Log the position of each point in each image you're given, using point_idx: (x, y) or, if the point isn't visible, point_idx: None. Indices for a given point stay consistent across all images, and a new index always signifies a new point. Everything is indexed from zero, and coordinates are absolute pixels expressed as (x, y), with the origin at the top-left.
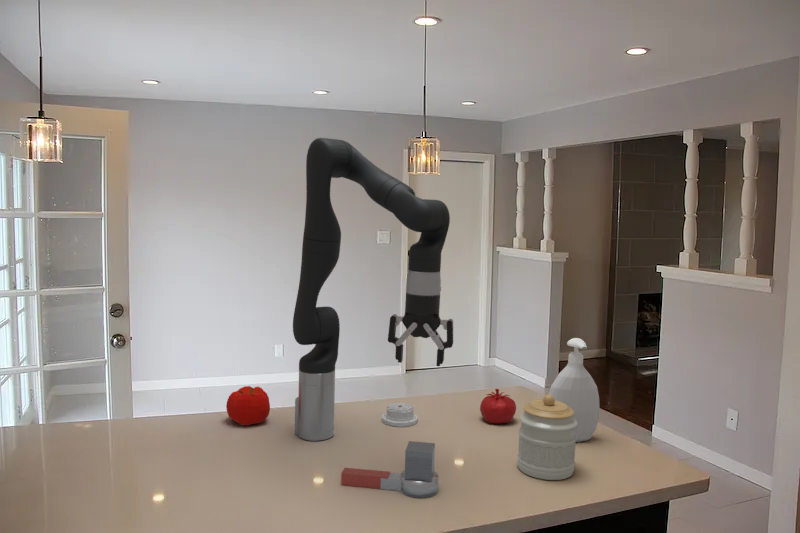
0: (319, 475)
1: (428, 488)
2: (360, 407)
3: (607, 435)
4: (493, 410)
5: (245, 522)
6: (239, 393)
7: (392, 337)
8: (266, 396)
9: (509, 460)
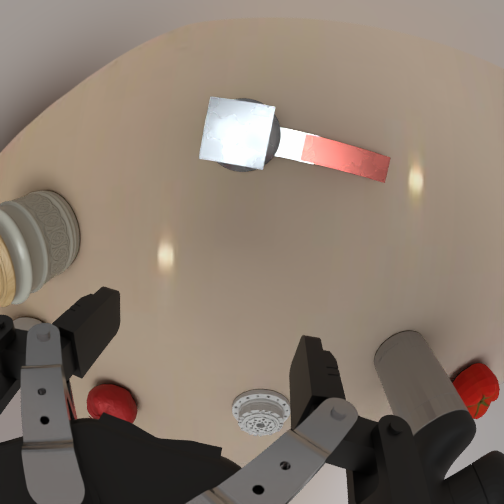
0: (414, 197)
1: None
2: None
3: None
4: (113, 398)
5: (480, 66)
6: (492, 397)
7: (388, 443)
8: None
9: (91, 261)
